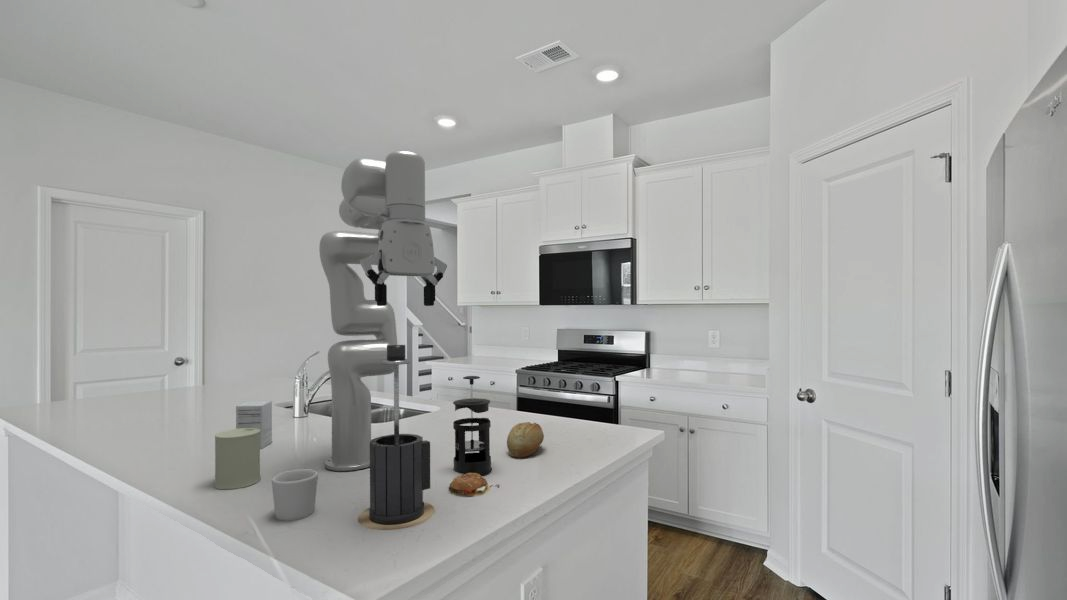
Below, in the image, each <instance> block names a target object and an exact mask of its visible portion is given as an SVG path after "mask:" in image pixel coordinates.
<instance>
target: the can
mask: <svg viewBox="0 0 1067 600" xmlns="http://www.w3.org/2000/svg"><path fill="white" fill-rule="evenodd" d="M214 450H215V451H214V452H215V453H214V455H215V456H214V457H215V458H214V460H215V461H214V463H215V465H214V470H215V471H214V485H213V487H214V488H215V489H217V490H223V491H224V490H237V489H243V488H247V487H250V486H253V485H255V484H257V482H258V483H259V482H260V481H261V478H262V477H261V459H260V458H261V454H260V453H261V449H260V429H257V428H240V429H236V428H234V429H227V430H223V431H220V432H217V433H216V434H214Z"/></svg>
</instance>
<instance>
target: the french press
mask: <svg viewBox="0 0 1067 600" xmlns="http://www.w3.org/2000/svg"><path fill="white" fill-rule="evenodd" d="M480 378H481V377H480V376H477V375H468V376H467V375H466V376H463V378H462V379H463V380H469V385H470V398H463V399H457V400H453V403H452V404H453V405H454V412H456V411H458V410H461V409H466V408H467V409H469V410H470V411H471V412H470V416H471V417H467V418H461V419H457V420H454V421H453V429H454V439H455V440H454V447H455V448H454V453H455V454H454V455H455V456H454V457H453V471H454V472H456V473H458V474H461V475H462V474H467V473H476V474H480V475H481V476H482V477H484V476H487V475H490V474H491V473H492V472H491V471H493V468H492V456H491V455H490V453H491V452H490V450H491V449H490V448H491V447H490V446H491V445H490V444H491V443H490V429H491V420H490V419H489V417H473V416H474V415H473V414H474V413H476V414H482V413H486V412H488V411H489V405H490V403H491V400H489V399H486V398H477V397H476V398H474V397H473V385H474V383H475V381H474V380H477V379H478V380H479V379H480ZM466 424H471V425H466ZM474 424H476V425H474ZM477 424H478V425H477ZM466 432H470V433H471V434H470V435H471V439H470V440H466ZM474 432H478V440H474Z"/></svg>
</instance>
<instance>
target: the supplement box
mask: <svg viewBox="0 0 1067 600" xmlns="http://www.w3.org/2000/svg"><path fill="white" fill-rule="evenodd" d="M272 404H273V403H272V401H271V400H262V401H261V400H259V401H246V402H244V403H241V404H238V405H236V407H235V416H236V417H235V429H240V428H257V429H260V448H262V449H264V448H265V447H267V446H268V445H270V444H271V443H273V420H272V419H273V413H272V412H273V409H272V408H273V407H272V406H273V405H272Z"/></svg>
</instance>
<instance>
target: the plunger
mask: <svg viewBox="0 0 1067 600" xmlns="http://www.w3.org/2000/svg"><path fill="white" fill-rule="evenodd" d="M382 364H384V365H394V372H393V416H394V417H393V434H394V445H399V434H400V392H399V391H400V379H399V378H400V371H399V370H400V367H399V365H409V364H411V359H410V358H409V359H408V358H406V344H398V345H387V360H382Z"/></svg>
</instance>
